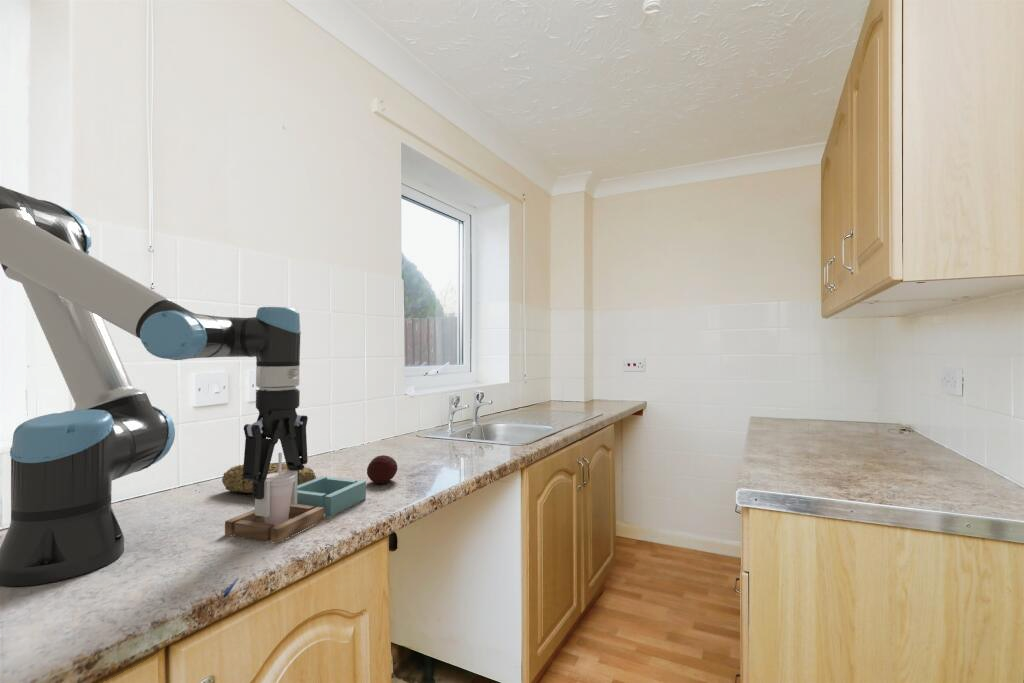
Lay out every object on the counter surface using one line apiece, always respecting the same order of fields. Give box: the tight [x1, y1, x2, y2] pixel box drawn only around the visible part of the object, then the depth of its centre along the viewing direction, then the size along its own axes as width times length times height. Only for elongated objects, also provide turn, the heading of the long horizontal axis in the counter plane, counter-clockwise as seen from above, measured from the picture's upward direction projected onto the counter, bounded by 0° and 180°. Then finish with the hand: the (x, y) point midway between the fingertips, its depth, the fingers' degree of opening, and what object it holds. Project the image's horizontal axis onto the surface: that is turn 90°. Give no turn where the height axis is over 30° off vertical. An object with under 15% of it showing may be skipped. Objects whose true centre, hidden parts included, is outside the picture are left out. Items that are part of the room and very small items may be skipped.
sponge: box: [221, 462, 317, 494], centre depth 114 cm, size 13×8×20 cm
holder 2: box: [297, 476, 367, 517], centre depth 106 cm, size 12×12×4 cm
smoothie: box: [264, 452, 295, 527], centre depth 92 cm, size 6×6×14 cm
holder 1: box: [224, 504, 325, 544], centre depth 92 cm, size 12×12×2 cm
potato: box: [366, 454, 398, 485], centre depth 123 cm, size 7×8×7 cm
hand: (276, 509), depth 92 cm, fingers closed on smoothie, 6 cm apart
